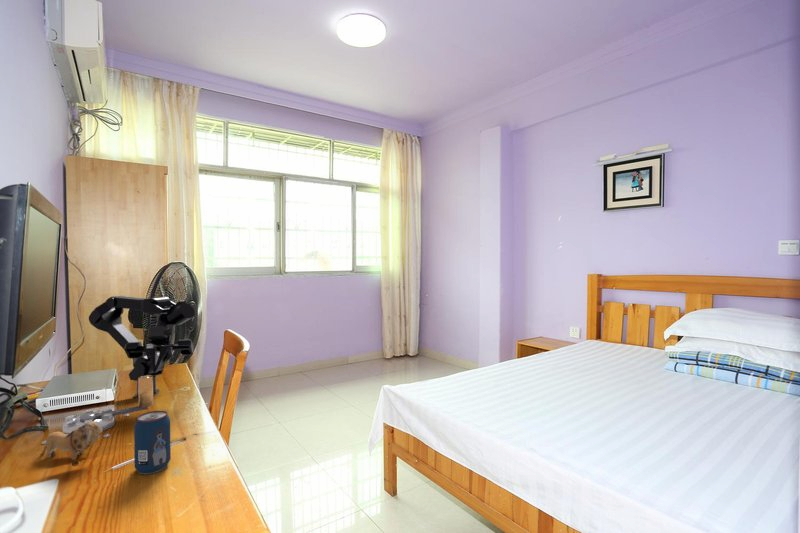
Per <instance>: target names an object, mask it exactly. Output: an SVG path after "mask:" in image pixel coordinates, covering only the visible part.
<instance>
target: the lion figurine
mask: <svg viewBox="0 0 800 533" xmlns="http://www.w3.org/2000/svg"><path fill="white" fill-rule="evenodd" d="M102 429H103V428H101V427H99V426H98V425H97V424H96V423H95V422H90V423H86V424H85V425H83V426H81V427H79V428H78V429H76V430H73V431H72V432H71V433H70V434H64V433H63V431H53V432H51V433H50V434H48V436H47V437H46V439H45V441H46V443H45V444H44V447H43V450H42V452H41V453H40V454H39V455H40V456H42V455H45V453H46V452H47V453H46V459H49V458H50V459H51V457H52V456H51V455H52V453H53V452H55V450H57V449H59V451H63V452H70V457H71V460H73V462H71V466H72V467H77V466H79V464H80V462H79V461H78V460H77V457H78V455H79V456H81V455H83V454H84V452H85V451H87V450H88V449H89V448H90V447H91V446H92V445H93V444H95V443H96V442H97V441H98V439H99V437H100V436H101V433H103V431H102ZM74 460H76V461H74ZM84 460H85V459H83V461H84Z"/></svg>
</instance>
